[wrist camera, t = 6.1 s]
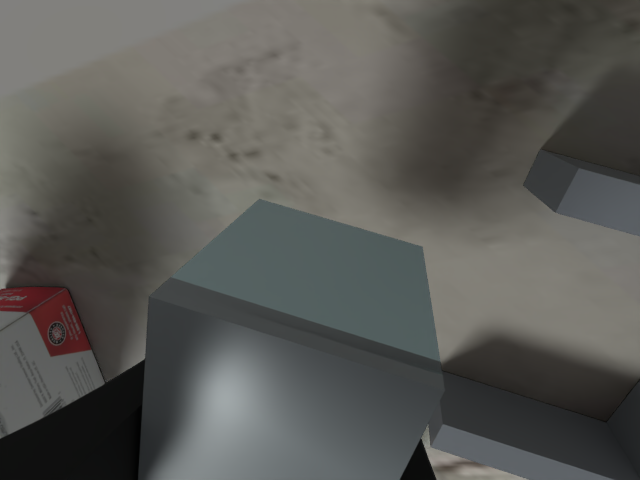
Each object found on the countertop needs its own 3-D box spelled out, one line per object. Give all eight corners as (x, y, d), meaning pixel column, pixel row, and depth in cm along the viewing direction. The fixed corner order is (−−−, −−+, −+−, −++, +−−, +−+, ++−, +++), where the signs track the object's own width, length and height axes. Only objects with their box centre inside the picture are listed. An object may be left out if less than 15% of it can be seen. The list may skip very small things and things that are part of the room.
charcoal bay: (813, 223, 14) (932, 264, 11) (620, 452, 20) (663, 523, 17) (540, 149, 15) (578, 168, 12) (425, 389, 20) (430, 447, 17)
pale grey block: (422, 246, 10) (445, 390, 5) (342, 452, 13) (314, 648, 9) (259, 198, 10) (148, 296, 6) (220, 411, 13) (132, 579, 9)
